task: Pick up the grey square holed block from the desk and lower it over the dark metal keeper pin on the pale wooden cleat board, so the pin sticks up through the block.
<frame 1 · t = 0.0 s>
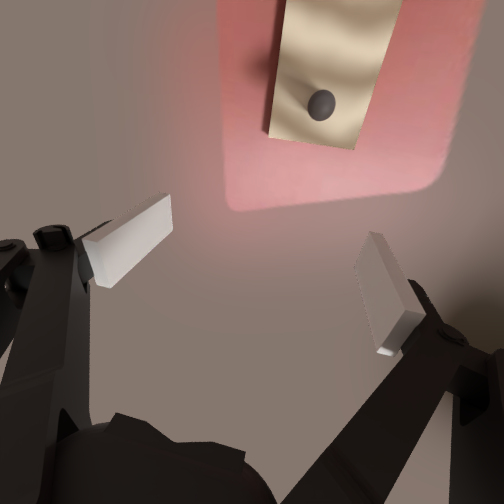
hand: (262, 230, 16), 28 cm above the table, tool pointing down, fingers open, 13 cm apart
cleat board: (326, 70, 32), on the table
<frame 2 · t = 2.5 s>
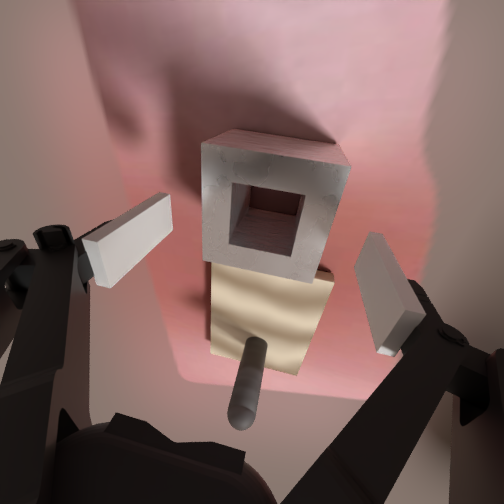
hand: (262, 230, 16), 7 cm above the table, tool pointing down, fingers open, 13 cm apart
grey square holed block: (276, 188, 22), on the table
cleat board: (262, 315, 31), on the table
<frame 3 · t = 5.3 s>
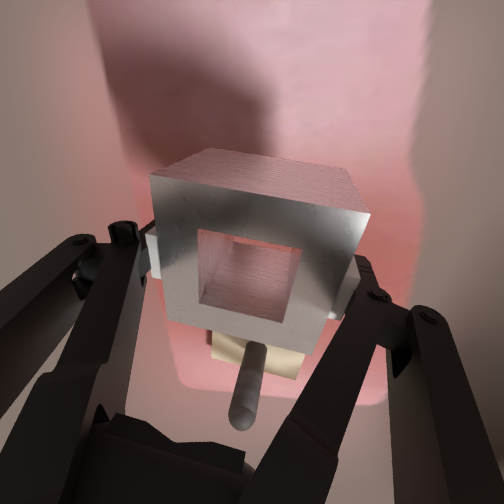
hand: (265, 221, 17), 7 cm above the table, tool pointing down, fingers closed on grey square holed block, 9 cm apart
grey square holed block: (266, 220, 17), point 7 cm above the table, touching gripper
cleat board: (262, 320, 32), on the table
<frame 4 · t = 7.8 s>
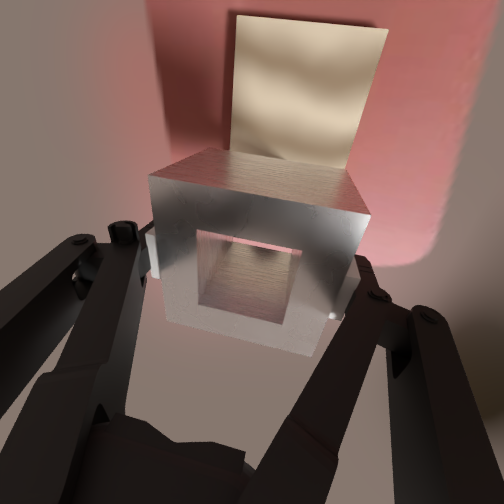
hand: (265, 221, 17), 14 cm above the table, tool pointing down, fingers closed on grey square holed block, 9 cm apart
grey square holed block: (265, 220, 17), point 14 cm above the table, touching gripper
cleat board: (290, 135, 27), on the table
when the fingers open (2 cm above the table, at t = 10.7 s): grey square holed block stays where it is, resting on cleat board.
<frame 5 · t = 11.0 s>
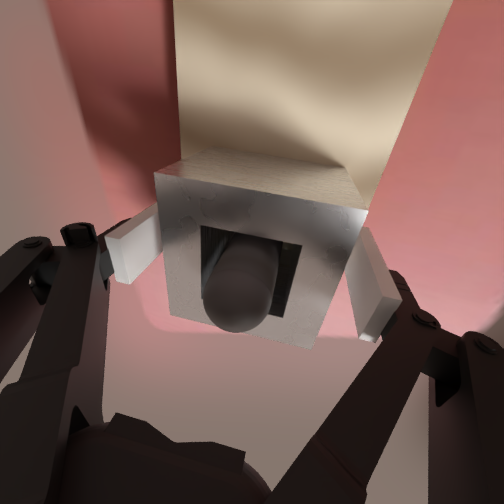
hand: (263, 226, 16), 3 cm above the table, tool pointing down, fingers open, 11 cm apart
grey square holed block: (266, 217, 17), point 1 cm above the table, touching cleat board
cleat board: (278, 157, 16), on the table
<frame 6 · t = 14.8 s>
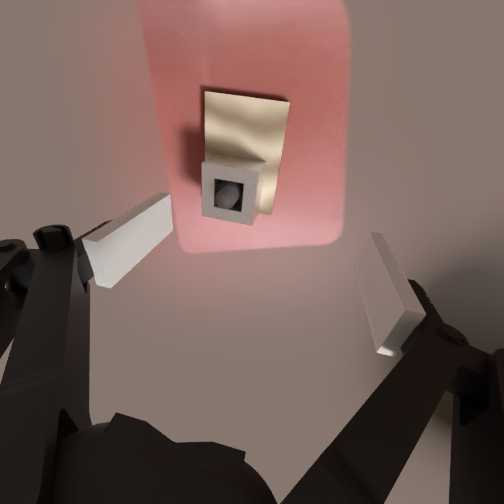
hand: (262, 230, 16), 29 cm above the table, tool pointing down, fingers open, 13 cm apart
grey square holed block: (239, 182, 42), point 1 cm above the table, touching cleat board
cleat board: (243, 157, 42), on the table
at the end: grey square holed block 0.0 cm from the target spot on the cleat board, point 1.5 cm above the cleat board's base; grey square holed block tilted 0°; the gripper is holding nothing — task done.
